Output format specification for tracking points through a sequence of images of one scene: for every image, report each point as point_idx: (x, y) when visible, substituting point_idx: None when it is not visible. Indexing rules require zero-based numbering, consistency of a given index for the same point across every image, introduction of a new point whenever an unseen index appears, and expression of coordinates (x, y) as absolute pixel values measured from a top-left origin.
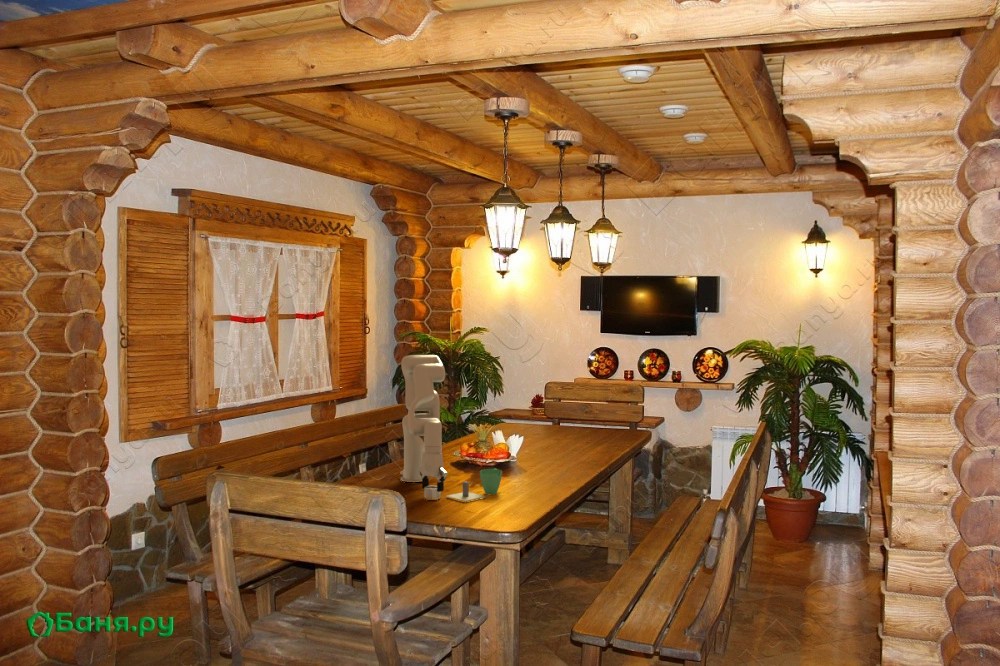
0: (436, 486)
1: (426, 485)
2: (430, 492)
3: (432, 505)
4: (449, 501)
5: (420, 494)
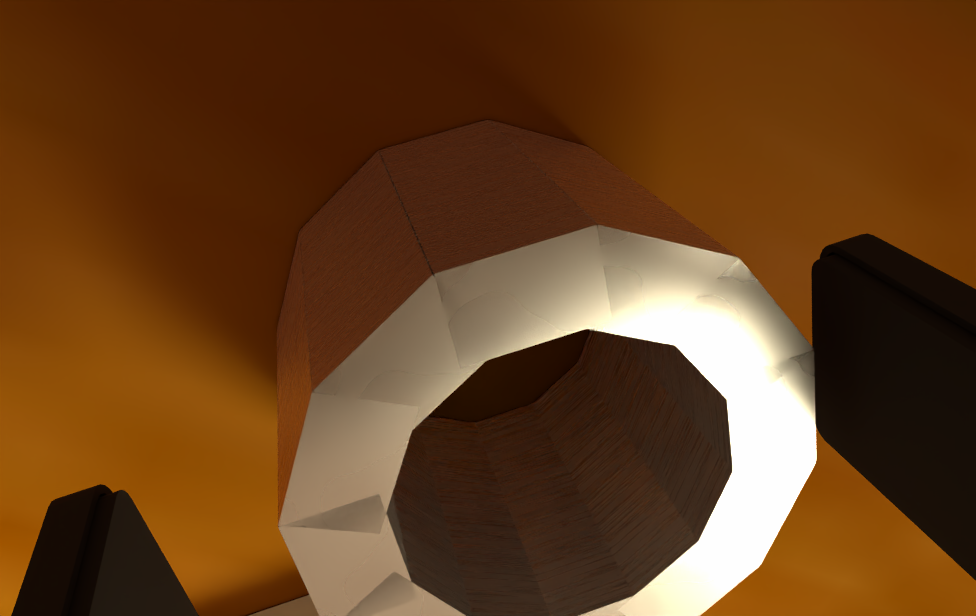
0: (592, 612)
1: (859, 398)
2: (338, 294)
3: None
4: None
5: (956, 238)
